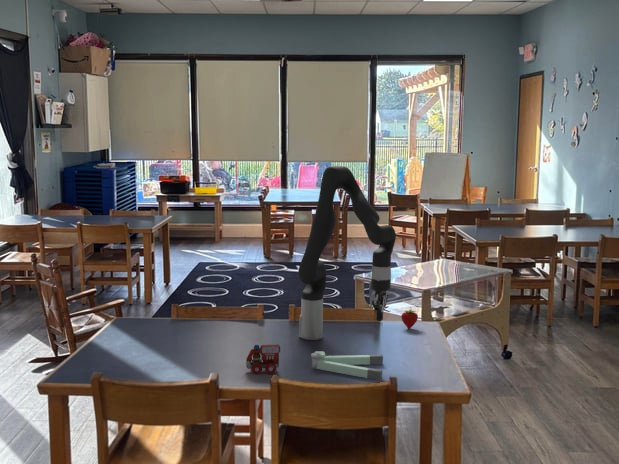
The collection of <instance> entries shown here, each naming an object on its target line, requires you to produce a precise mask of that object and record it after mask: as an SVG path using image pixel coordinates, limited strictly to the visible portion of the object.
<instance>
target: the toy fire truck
mask: <svg viewBox="0 0 619 464" xmlns="http://www.w3.org/2000/svg"><path fill="white" fill-rule="evenodd" d="M280 352H281V346H280V344H261V345H258V344H254V346H253V348H252V349H250V351H249V353H248V355H247V357H246V363H245V364H246V365H245V366H246V368H247V369H248V370H250V369H251V372H252V374H254V375H260V374H261V373H263V372H262V371H263V369H264V370H265V373H267V374H268V375H273V374H275V373H276V372H277V369H278V368H279V366H280Z"/></svg>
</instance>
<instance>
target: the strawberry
mask: <svg viewBox="0 0 619 464" xmlns="http://www.w3.org/2000/svg"><path fill="white" fill-rule="evenodd" d="M409 307H410V309H409V310H404V312H403V313H402V314H401V321H402V322H403V324H404V325H405V327H407V329H409V330H410V329H411V328H413V326H414V325H416V323H417V321H418V319H419V315H418V314H417V311H415V310H412V307H411V306H409Z"/></svg>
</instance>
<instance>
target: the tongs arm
mask: <svg viewBox="0 0 619 464" xmlns="http://www.w3.org/2000/svg"><path fill="white" fill-rule="evenodd" d="M310 356H311V359H312V358H320V360H325V361H330V362H336V363H342V364H347V365H353V366H358V365H359V366H360V365H362V366H363V365H384V356H383V354H381V353H380V354H379V353H378V354H365V355H364V354H363V355H360V354H359V355H357V354H356V355H355V354H354V355H353V354H351V355H326V353H325V351H323V350H322V351H320V350H319V351H314V352H313V353H311V354H310Z"/></svg>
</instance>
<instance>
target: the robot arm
mask: <svg viewBox="0 0 619 464" xmlns="http://www.w3.org/2000/svg"><path fill="white" fill-rule="evenodd" d="M337 190H343V191H344V192H345V193H346V194H347V195H348V197H349V198H350V201H351V206H352V210H353V213H354V214H355V216H356V217H357V219H358V220H359V221H360V223H361V224H362V225H363V227H364V231H365V233H366V235H367V237H368V240H369V241H370V242H371V243H372V244H374V245H377V246H378V248H377V249H375V250H374V251H373V253H372V263H371V274H370V275H371V276H370V277H371V278H370V288H371V290H374V291H375V292H374V294H373V300H372V302H371V303H372V307H373V310H374V312H376V321H379V322H382V321H383V320H384V311H385V309H386V307H387V302H388V298H389V293H387V291H388V292H389V290H391V287H392V286H391V284H392V283H391V281H392V263H391V262H392V253H393V250H394V247H395V243H396V238H397V234H396V230H395V229H394V227H393V226H392V225H389V224H385V225H379V224H378V223H379V222H380V216H379V214H378V212H377V211H376V210H375V209H374V207H373V206H372V204H371V203H370V202H369V201H368V199H367V198H366V196H365V194H364V193H363V191H362V189H361V187H360V185H359V184H358V182H357V180H356V177H355V176H354V175H353V173H352V170H350V169H349V167H347V166H343V165H332V166H331V165H329V166H327V167H326V168H325V169H324V171H323V173H322V176H321V183H320V190H319V196H318V201H317V205H316V209H315V213H314V217H313V220H312V225H311V228H310V232H309V237H308V239H307V244H306V246H305V250H304V253H303V255H302V258H301V262H300V264H299V266H298V270H297V271H298V272H297V273H298V274H297V275H298V279H299V280H300V282H301V283H302V284H304V285H306V286H304V288H303V289H302V291H301V297H300V299H301V302H300V303H301V306H300V307H301V308H300V311H301V312H300V315H298V316H299V318H298V322H299V323H298V337H299V338H301V339H303V340H306V341H318V340H321V339H323V326H324V325H323V321H324V318H323V317H324V315H323V314H324V294H325V292H326V285H327V268H326V265H325V263H324V262H323V261H322V260H320V257H321V255H322V253H323V252H324V250H325V248H326V247H327V246H328V244H329V242H330V241H331V239H332V237H333V234H334V233H335V232H334V231H335V227H336V223H337V216H336V212H335V206H334V199H335V195H336V191H337Z"/></svg>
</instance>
